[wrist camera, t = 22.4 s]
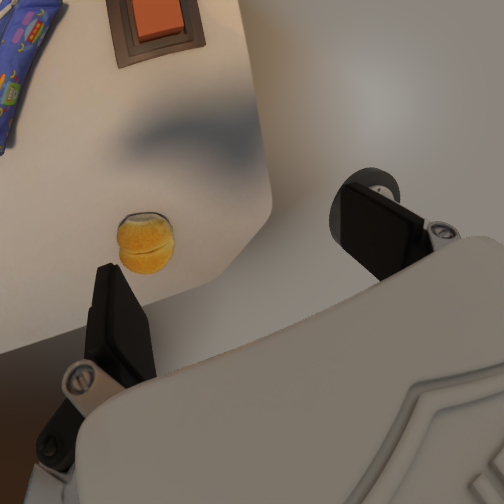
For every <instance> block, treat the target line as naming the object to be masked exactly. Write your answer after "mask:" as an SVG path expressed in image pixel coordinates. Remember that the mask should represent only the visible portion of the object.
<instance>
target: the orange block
mask: <svg viewBox="0 0 504 504" xmlns="http://www.w3.org/2000/svg"><path fill="white" fill-rule="evenodd" d="M132 8H133V14H134V19H135V25H136V30H137V35H138V40H139V44H141V43H145V42H148V41H152V40H156V39H160V38H164V37H168V36H172V35H177V34H180V32H181V30H182V29H183V27H184V22H183V18H182V13H181V7H180V2H179V0H132Z"/></svg>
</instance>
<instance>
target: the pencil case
mask: <svg viewBox="0 0 504 504" xmlns="http://www.w3.org/2000/svg"><path fill="white" fill-rule="evenodd" d="M62 3H63V2H62V0H2V2H1V4H0V156H2V155H3V154H4V151H5V140H6V138H7V136H8V134H9V130H10V126H11V122H12V119H13V115H14V111H15V108H16V105H17V101H18V97H19V94H20V91H21V88H22V85H23V83H24V80H25V78H26V75H27V73H28V70H29V68H30V65H31V63H32V60H33V58H34V56H35V54H36V52H37V50H38V48H39V46H40V45H41V43H42V40H43V38H44V36H45V34H46V32H47V30H48V28H49V26H50V24H51V22H52V18H53V17H54V16H55V15H56V14H57V12H58V10H59V8H60V6H61V5H62Z"/></svg>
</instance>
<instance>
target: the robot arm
mask: <svg viewBox="0 0 504 504" xmlns="http://www.w3.org/2000/svg"><path fill="white" fill-rule="evenodd" d="M340 243H341V246H342V248H343V249H344V250H345V251H346V252H347V253H349V254H350V255H351V256H352V257H353V258H354V259H355V260H357V261H358V262H359V263H360V264H361V265H363V266H364V267H365V268H366V269H367V270H368V271H369V272H370V273H372V274H373V275H374V276H375V277H376V278H377V279H378V280H379V281H380V282H379V283H377V284H375V285H373V286H371V287H369V288H367V289H365V290H363V291H361V292H359V293H358V294H356V295H354V296H352V297H350V298H348V299H345V300H344V301H341V302H339V303H337V304H335V305H333V306H331V307H329V308H327V309H325V310H323V311H321V312H319V313H316V314H314V315H312V316H310V317H308V318H305V319H303V320H301V321H299V322H297V323H295V324H292V325H290V326H288V327H285V328H284V329H281V330H279V331H276V332H274V333H272V334H269V335H267V336H264V337H262V338H260V339H257V340H255V341H252V342H250V343H247V344H245V345H242V346H240V347H237V348H235V349H232V350H229V351H227V352H224V353H222V354H219V355H216V356H214V357H211V358H208V359H206V360H203V361H200V362H198V363H195V364H192V365H189V366H186V367H184V368H181V369H178V370H175V371H173V372H170V373H167V374H164V375H161V376H158V377H157V376H156V370H155V364H154V358H153V351H152V345H151V338H150V330H149V323H148V319H147V317H146V314H145V313H144V311H143V309H142V308H141V306H140V304H139V302H138V301H137V299H136V297H135V295H134V293H133V292H132V290H131V288H130V286H129V284H128V282H127V281H126V279H125V277H124V275H123V273H122V271H121V269H120V267H119V266H118V265H113V264H112V263H109V264H106V265H103V266H101V267H98V269H97V273H96V279H95V285H94V292H93V299H92V307H90V308H89V312H88V320H87V330H86V340H85V354H84V360H79V361H77V362H75V363H74V364H72V365H71V366H70V367H69V369H68V370H67V371H66V373H65V375H64V377H63V381H62V388H63V392H64V393H65V395H66V397H67V398H66V399H65V400H64V402H63V403H62V404H61V406H60V407H59V408H58V410H57V411H56V412H55V414H54V415H53V416H52V418H51V419H50V420H49V422H48V423H47V425H46V426H45V427H44V429H43V430H42V432H41V433H40V435H39V437H38V439H37V443H36V453H37V457H38V458H39V460H40V463H39V465H38V464H35V465H34V469H33V472H32V475H31V479H30V482H29V485H28V489H27V493H26V497H25V501H24V504H504V246H503V245H502V244H501V243H499V242H497V241H496V240H494V239H492V238H490V237H486V236H473V237H466V238H463V239H461V237H460V235H459V232H458V231H457V229H456V228H454V227H453V226H451V225H450V224H447V223H444V222H439V221H437V222H436V221H435V222H430V221H428V220H427V219H425V218H423V217H422V216H420V215H419V214H417V213H415V212H413V211H412V210H410V209H408V208H407V207H405V206H403V205H401V204H400V203H398V202H396V201H394V197H393V195H392V192H391V191H390V190H389V189H388V188H386V187H384V186H382V185H373V186H371V187H369V188H368V187H366V186H364V185H362V184H360V183H358V182H352V183H348V184H345V185H344V186H343V188H342V189H341V191H340Z"/></svg>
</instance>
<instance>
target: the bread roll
mask: <svg viewBox="0 0 504 504" xmlns="http://www.w3.org/2000/svg"><path fill="white" fill-rule="evenodd" d="M117 242H118V244H119V246H120V254H119V256H120V260H121V262H122V263H123V265H124V266H125V267H126V268H128V269H129V270H130V271H132V272H135V273H138V274H152V273H156V272H158V271H159V270H161V269H162V268H163V267H164V266H165V265H166V264H167V263H168V261H169V259H170V258H171V256H172V254H173V251H174V236H173V231H172V228H171V226H170V224H169V223H168V221H167V220H166V219H165V218H163V217H161V216H159V215H157V214H138V215H133V216H130V217H128V218H127V219H126V221H125V222H124V223H123V224H122V225H121V226H120V228H119V229H118V233H117Z"/></svg>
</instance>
